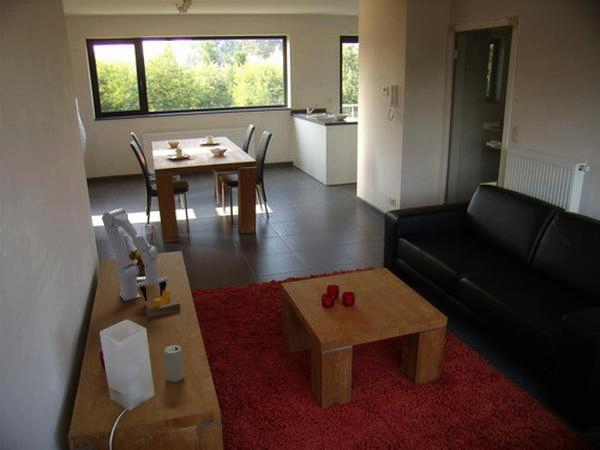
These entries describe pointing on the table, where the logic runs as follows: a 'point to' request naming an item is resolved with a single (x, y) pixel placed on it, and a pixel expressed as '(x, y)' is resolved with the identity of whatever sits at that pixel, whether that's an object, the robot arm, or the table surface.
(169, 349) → the beverage can
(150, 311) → the bar
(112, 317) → the table surface
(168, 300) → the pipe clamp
